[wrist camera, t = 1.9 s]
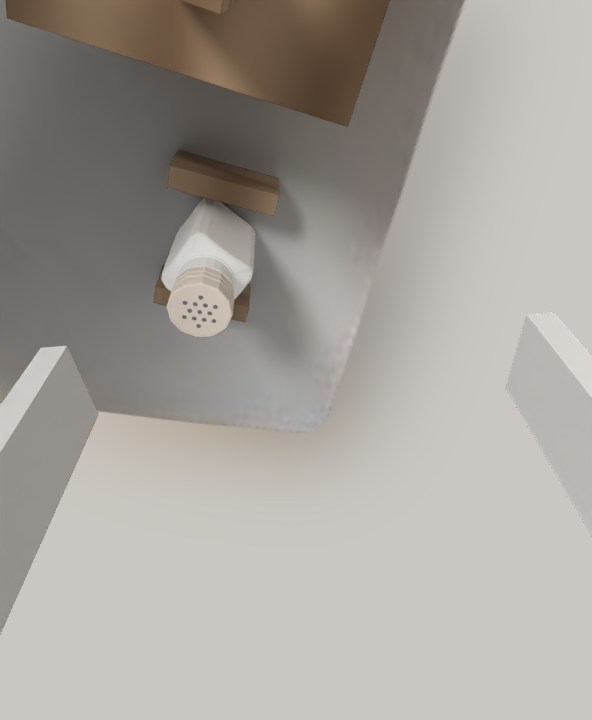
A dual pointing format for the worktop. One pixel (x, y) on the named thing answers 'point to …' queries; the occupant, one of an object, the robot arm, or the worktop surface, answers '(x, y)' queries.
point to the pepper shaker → (208, 268)
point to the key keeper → (223, 187)
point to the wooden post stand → (233, 43)
